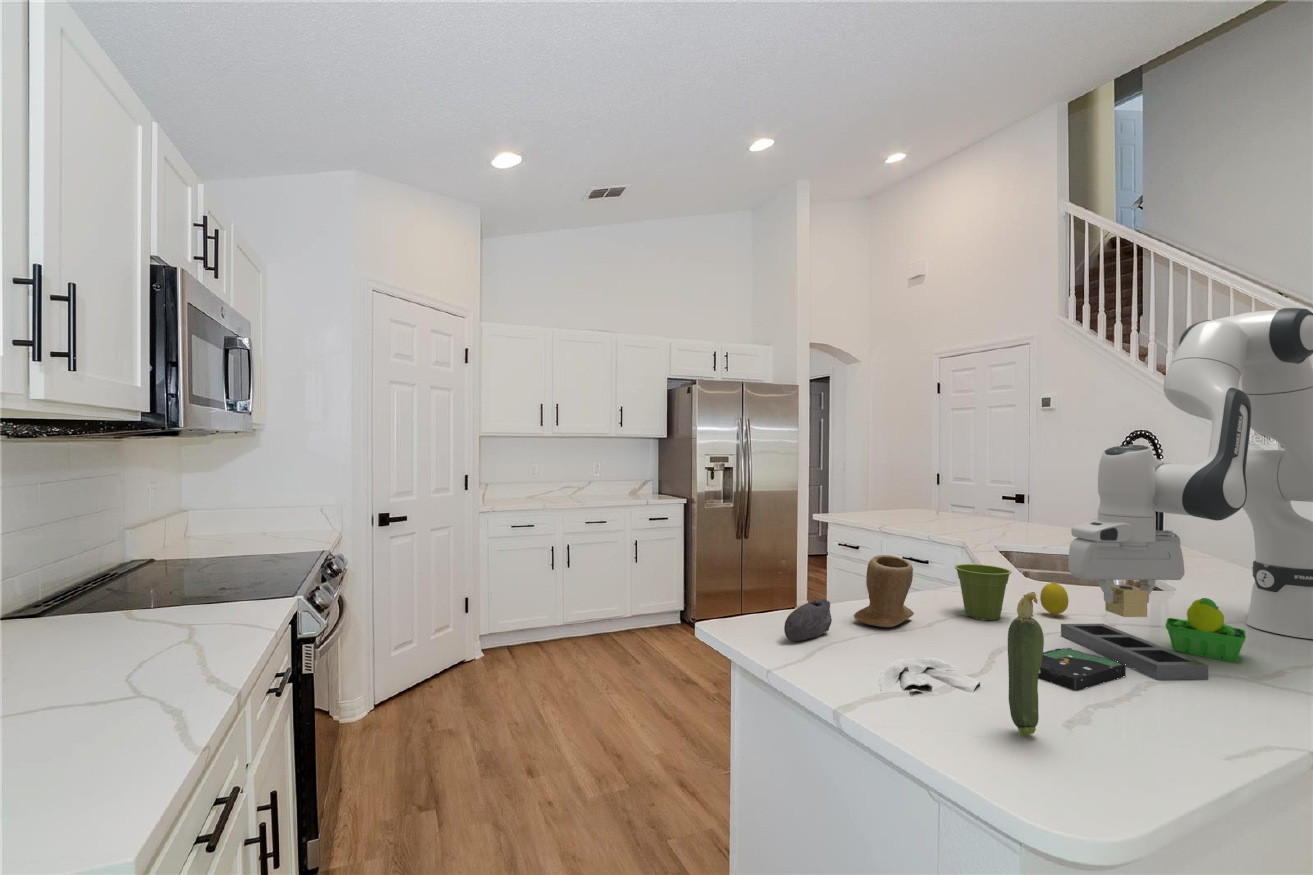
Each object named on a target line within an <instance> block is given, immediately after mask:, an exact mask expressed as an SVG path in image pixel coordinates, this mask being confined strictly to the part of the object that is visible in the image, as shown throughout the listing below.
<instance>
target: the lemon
mask: <svg viewBox="0 0 1313 875" xmlns="http://www.w3.org/2000/svg"><path fill="white" fill-rule="evenodd" d="M1039 598H1040V604H1041V607H1043V609H1044V610H1045V611H1046V612H1048V613H1049V614H1051V616H1053V617H1057V616H1058V615H1060V614H1062V613H1064V612H1065V611H1066V610H1067V609H1068V606H1069V595H1068V592H1067V590H1066V589H1065V588H1064V587H1063V586H1062V585H1061V584H1059V583H1057V582H1056V581H1052V582H1051V583H1047V584H1045V585H1044V586H1043V587H1042V589H1041V592H1040V596H1039Z"/></svg>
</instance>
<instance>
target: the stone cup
mask: <svg viewBox="0 0 1313 875" xmlns="http://www.w3.org/2000/svg"><path fill="white" fill-rule="evenodd" d="M866 569H867V570H866V575H865V576H866V581H865V582H866V588H867V593H868V598H869V605H867V606H866V607H863V608H861V609H858V611H856V612H855V613H854V614H853V618H854V619H855V620H857V621H858V622H861V623H863V624H865V625H870V626H874V627H875V626H876V627H881V628H891V627H896V626H897V625H900V624H902V623H903V622H905V621H907V620H908V619H910V618H911V617H913V616H914V614H915V612H914V611H913V610H912V609H911V608H909V607H908V606H906V605H905V601H906V599H907V596H908V595H909V594H908V593H909V590H910V588H911V585H912V582H913V576H914V568H913V564H912V563H911V562H910V561H908V560H906V559H905V558H903V557H898V556H895V555H890V554H881V555H876V556H873V557H872V558H871V559H870V560H869V562H868V564H867V567H866Z"/></svg>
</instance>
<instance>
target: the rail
mask: <svg viewBox="0 0 1313 875" xmlns="http://www.w3.org/2000/svg"><path fill="white" fill-rule="evenodd" d="M1060 636H1061V637H1062V638H1065V639H1067V640H1070V641H1071V642H1073V641H1074V642H1073V643H1076V644H1078V645H1080V646H1083V647H1084V646H1085V647H1084V648H1087V649H1089V650H1092V651H1093V650H1094V651H1093V652H1096V653H1098V654H1099V655H1102V656H1104V657H1105V658H1107V659H1110V660H1113V659H1114V661H1115V660H1116V661H1118V662H1121V663H1124V664H1126V665H1127V666H1126V667H1128V666H1130V667H1131V668H1130V667H1129V668H1130V669H1132V668H1135V669H1136V670H1138V671H1137V672H1139V671H1140V672H1139V673H1141V674H1143V673H1144V675H1145V674H1146V675H1145V676H1147V675H1148V676H1147V677H1149V676H1150V678H1151V679H1154V678H1155V679H1154V680H1156V679H1157V681H1171V680H1172V681H1173V680H1174V681H1177V680H1178V681H1181V680H1186V681H1187V680H1189V681H1190V680H1191V681H1192V680H1193V681H1194V680H1199V681H1200V680H1209V664H1207V663H1204V662H1202V661H1199V660H1197V659H1194V658H1192V657H1189V656H1188V655H1187V656H1186V655H1184V654H1182V653H1180V652H1177V651H1174V650H1173V649H1169V648H1166V647H1163V646H1161V645H1158V644H1157V643H1153V642H1151V641H1148V640H1145V639H1143V638H1141V637H1138V636H1135V635H1133V634H1130V633H1128V632H1126V631H1123V630H1120V629H1118V628H1116V627H1112V626H1110V625H1108V624H1105V623H1060ZM1136 670H1135V671H1136Z"/></svg>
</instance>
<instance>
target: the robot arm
mask: <svg viewBox="0 0 1313 875" xmlns="http://www.w3.org/2000/svg"><path fill="white" fill-rule="evenodd" d="M1312 355H1313V312H1312V310H1309V309H1308V308H1302V307H1284V308H1281V309H1271V310H1269V309H1268V310H1260V311H1259V310H1258V311H1257V310H1256V311H1251V312H1250V311H1249V312H1242V313H1240V314H1236V315H1230V316H1224V317H1220V318H1216V319H1207V320H1203V321H1199V322H1196V323H1194V324H1192V325H1190V326H1189V327H1187V328H1186V329H1185V330H1184V332H1182V334H1181V336H1180V338H1179V342H1178V347H1177V349H1176V351H1175V353H1174V355H1173V357H1172V360H1171V362H1170V364H1169V367H1168V369H1167V372H1166V374H1165V377H1164V380H1163V393H1164V395H1165V397H1166V399H1167V400H1168V402H1170V404H1172V405H1173V406H1174V407H1175V408H1177V409H1179V410H1181V411H1183V412H1184V413H1186V414H1189V415H1191V416H1193V417H1194V416H1195V417H1197V418H1202V419H1205V420H1209V421H1210V422H1211V423H1212V424H1211V425H1212V427H1211V432H1210V433H1211V434H1210V440H1209V447H1208V455H1207V458H1206V459H1205V460H1203V461H1201V462H1199V463H1192V464H1191V463H1170V462H1165V461H1163V460H1161V459H1158V458H1156V457H1155V456H1154V455H1153V452H1152V448H1151V447H1149V446H1146V445H1140V444H1129V445H1128V444H1127V445H1117V446H1112V447H1109V448H1107V449H1105V450H1104V451H1103V452H1102V454H1101V456H1100V459H1099V464H1098V471H1097V493H1098V496H1099V501H1100V503H1099V506H1098V509H1097V517H1096V518H1093V519H1091V520H1088V521H1085V522H1082V523H1079V524H1076V525H1075V524H1074V525H1073V526H1072V528H1071V529H1070V530H1071V531H1070V532H1071V536H1073V537H1075V538H1074V539H1073V540H1072V541H1071V542H1070V544H1069V549H1068V561H1067V562H1068V564H1067V565H1068V572H1069V573H1070V574H1071V576H1073V577H1075V578H1077V579H1079V580H1087V581H1088V580H1095V581H1096V580H1097V584H1098V586H1099V588H1100V589H1101V591H1102V592H1103V601H1104V602H1107V603H1118V594H1115V593H1113V591H1112V589H1111V587H1110V585H1114V581H1116V580H1121V581H1122V580H1123V581H1124V580H1125V581H1126V580H1128V581H1131V580H1132V581H1137V580H1138V582H1139V584H1141V585H1140V587H1139V588H1141V589H1144V590H1147V604H1149V603H1150V594H1151V593H1152V591H1153V590H1154V588H1155V587H1156V581H1180V580H1182V578H1183V577H1184V576H1185V563H1184V562H1185V561H1184V556H1183V551H1182V548H1181V537H1179V535H1178V534H1177V533H1175V532H1173V531H1172V530H1166V529H1165V530H1157V528H1156V527H1157V524H1156V523H1157V522H1156V521H1157V515H1156V512H1158V513H1164V514H1171V515H1172V514H1173V515H1183V516H1191V517H1195V518H1201V519H1206V520H1210V521H1211V520H1212V521H1223V520H1226V519H1228V518H1230V517H1232V516H1233V515H1235V514H1236V513H1237V512H1239V511H1240V510H1241V509H1243V510H1244V512H1245V513H1246V515H1247V517H1248V518H1249V521H1250V523H1251V526H1252V529H1253V530H1252V531H1253V538H1254V549H1255V550H1254V551H1255V556H1254V557H1255V559H1254V561H1252V567H1251V570H1252V577H1253V578H1254V583H1253V585H1252V589H1251V596H1250V601H1249V602H1250V603H1249V609H1248V610H1249V611H1248V612H1247V613H1246V616H1245V618H1246V621H1245V624H1246V625H1248V626H1250V627H1252V628H1255V629H1258V630H1262V631H1263V632H1264V631H1265V632H1269V633H1273V634H1278V635H1283V636H1288V637H1293V638H1300V639H1301V638H1302V639H1310V640H1313V520H1310V519H1308V518H1306V517H1304V516H1301V515H1299V514H1298V513H1297V512H1296V511H1295V509H1294V508H1293V506H1292V504H1291V503H1292V502H1305V503H1307V502H1309V503H1313V367H1312V363H1311V360H1310V356H1312ZM1240 379H1241V389H1242V390H1241V389H1240V387H1239V383H1240ZM1251 429H1252V431H1254V432H1255V433H1257V434H1259V435H1262V436H1265V437H1267V438H1271V439H1273V440H1274V441H1276V442H1277V443H1278V444H1279V445H1280V446H1282V448H1283V449H1275V450H1274V449H1272V450H1271V449H1249V444H1250V442H1249V441H1250V436H1251V434H1250V432H1251ZM1291 501H1292V502H1291Z"/></svg>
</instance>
